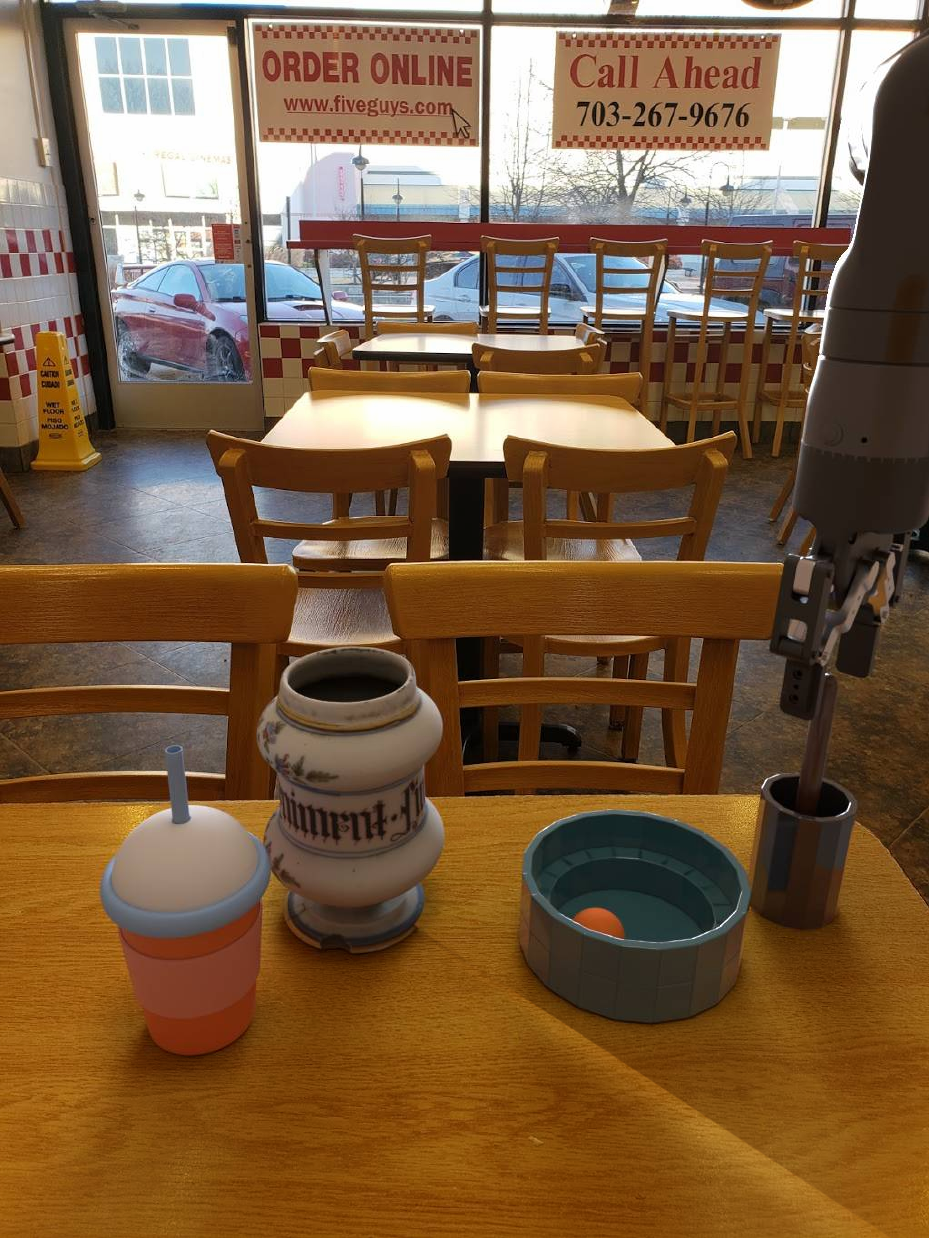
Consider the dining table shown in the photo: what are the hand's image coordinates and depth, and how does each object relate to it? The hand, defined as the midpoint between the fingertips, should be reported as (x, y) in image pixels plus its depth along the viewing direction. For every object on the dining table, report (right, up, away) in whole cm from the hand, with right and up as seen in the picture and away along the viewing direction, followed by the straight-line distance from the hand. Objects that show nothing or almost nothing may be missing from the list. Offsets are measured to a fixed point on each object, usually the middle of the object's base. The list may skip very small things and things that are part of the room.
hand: (826, 693), depth 60 cm
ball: (-15, -15, -1) cm, 21 cm away
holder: (0, -15, +6) cm, 17 cm away
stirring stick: (0, -15, +6) cm, 16 cm away
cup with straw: (-39, -19, -4) cm, 43 cm away
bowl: (-12, -17, +2) cm, 21 cm away
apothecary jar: (-31, -15, +5) cm, 35 cm away
